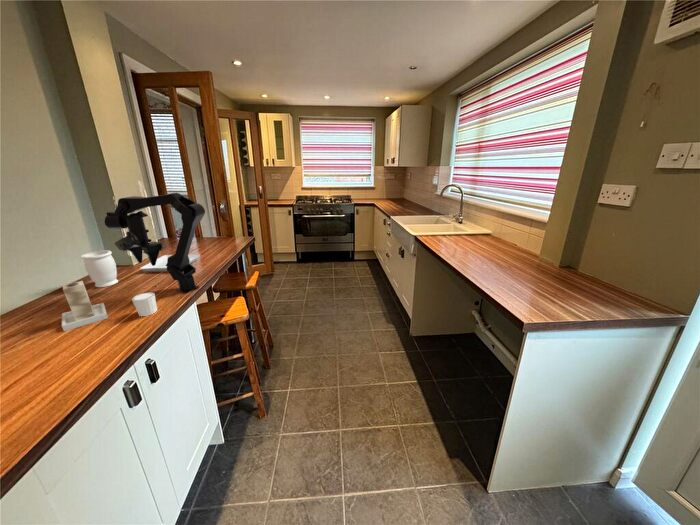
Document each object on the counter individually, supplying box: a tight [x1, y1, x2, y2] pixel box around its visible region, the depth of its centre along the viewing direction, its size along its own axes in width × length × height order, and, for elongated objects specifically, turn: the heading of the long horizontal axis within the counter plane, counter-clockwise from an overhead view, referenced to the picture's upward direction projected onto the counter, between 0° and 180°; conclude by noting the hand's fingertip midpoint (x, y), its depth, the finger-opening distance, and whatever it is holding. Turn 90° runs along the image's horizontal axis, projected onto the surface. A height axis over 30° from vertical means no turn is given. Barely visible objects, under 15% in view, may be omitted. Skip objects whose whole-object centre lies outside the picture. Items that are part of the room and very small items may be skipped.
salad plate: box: [139, 254, 201, 273], centre depth 151 cm, size 21×21×3 cm
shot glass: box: [131, 292, 158, 318], centre depth 103 cm, size 7×7×7 cm
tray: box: [61, 302, 109, 332], centre depth 101 cm, size 12×12×2 cm
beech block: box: [62, 280, 95, 321], centre depth 99 cm, size 5×5×13 cm
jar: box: [80, 250, 119, 288], centre depth 128 cm, size 11×10×15 cm
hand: (147, 264), depth 120 cm, fingers open, 9 cm apart
